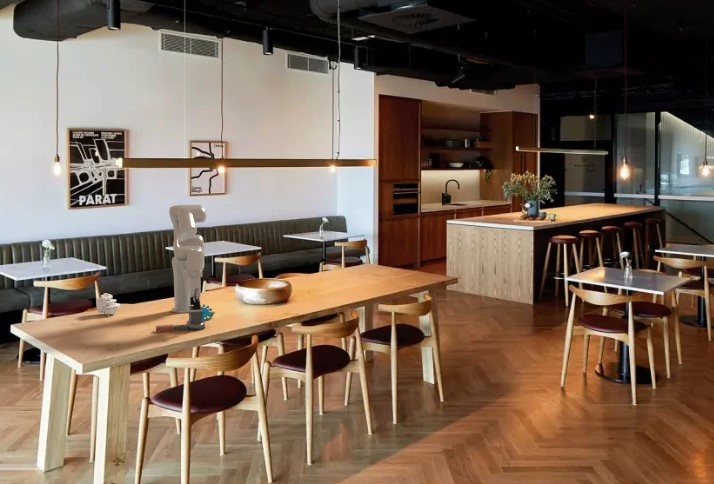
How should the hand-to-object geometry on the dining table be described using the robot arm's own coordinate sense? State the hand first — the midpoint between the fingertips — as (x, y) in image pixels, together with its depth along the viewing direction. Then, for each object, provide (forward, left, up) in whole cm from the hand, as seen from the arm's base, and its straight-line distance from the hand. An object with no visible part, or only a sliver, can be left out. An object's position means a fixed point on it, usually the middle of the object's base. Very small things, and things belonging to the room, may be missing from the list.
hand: (195, 307), depth 322 cm
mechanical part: (-46, -39, -11) cm, 61 cm away
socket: (+1, 0, -8) cm, 8 cm away
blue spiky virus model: (-17, +7, -11) cm, 22 cm away
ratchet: (+1, -7, -11) cm, 13 cm away
